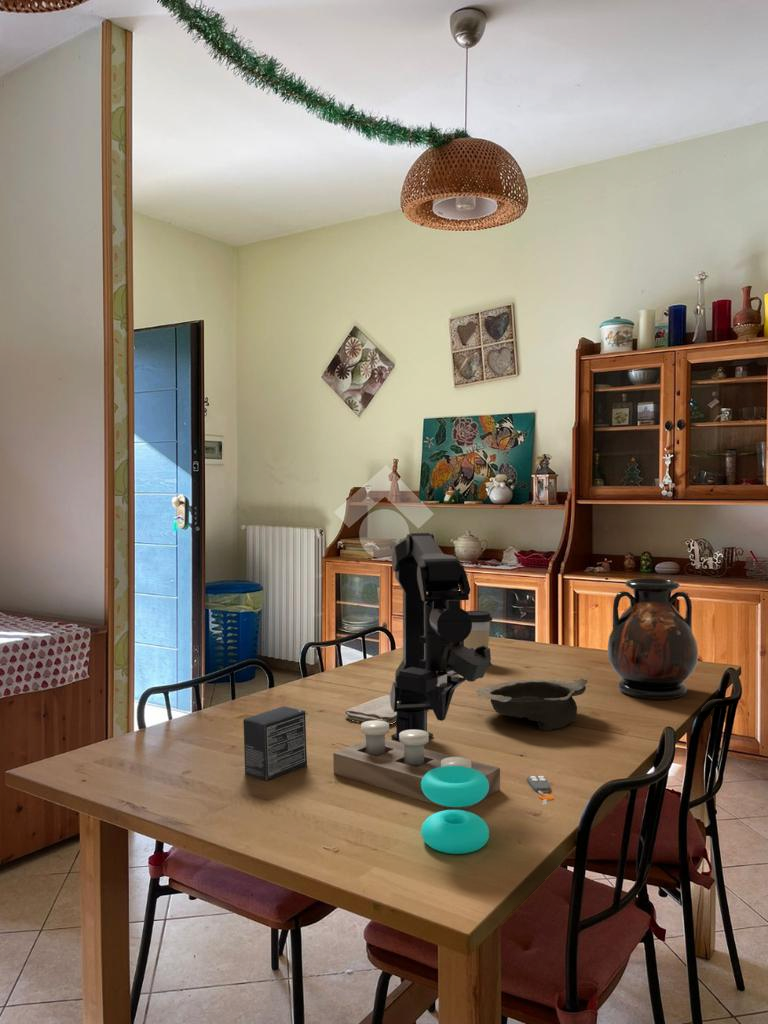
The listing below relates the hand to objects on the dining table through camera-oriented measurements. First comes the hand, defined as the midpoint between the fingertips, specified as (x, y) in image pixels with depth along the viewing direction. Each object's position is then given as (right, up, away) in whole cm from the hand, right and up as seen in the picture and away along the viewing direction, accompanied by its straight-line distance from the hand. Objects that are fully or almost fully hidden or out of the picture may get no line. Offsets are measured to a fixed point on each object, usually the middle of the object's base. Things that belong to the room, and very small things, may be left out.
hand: (441, 720), depth 137 cm
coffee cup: (+17, -9, +95) cm, 97 cm away
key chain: (+17, -13, -2) cm, 22 cm away
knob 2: (+2, -12, -2) cm, 12 cm away
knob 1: (-11, -9, +9) cm, 17 cm away
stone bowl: (+23, -11, +41) cm, 48 cm away
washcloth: (-9, -11, +45) cm, 48 cm away
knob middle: (-5, -9, +4) cm, 10 cm away
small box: (-30, -12, +11) cm, 34 cm away
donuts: (+1, -13, -20) cm, 24 cm away
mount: (-5, -12, +4) cm, 13 cm away
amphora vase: (+57, -10, +62) cm, 85 cm away
